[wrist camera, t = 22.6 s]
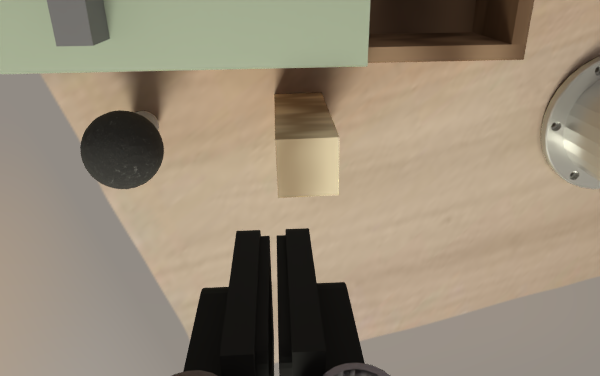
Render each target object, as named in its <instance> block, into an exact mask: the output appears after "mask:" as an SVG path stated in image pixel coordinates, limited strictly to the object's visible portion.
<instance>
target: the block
mask: <svg viewBox="0 0 600 376" xmlns="http://www.w3.org/2000/svg"><path fill="white" fill-rule="evenodd" d="M274 96H275V144H276V164H277V185H278V198H286V197H308V196H330V195H339V135H338V133H337V130H336V128H335V125H334V123H333V120H332V118H331V115H330V113H329V110H328V108H327V105H326V103H325V100H324V98H323V95H322V93H298V94H274Z"/></svg>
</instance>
